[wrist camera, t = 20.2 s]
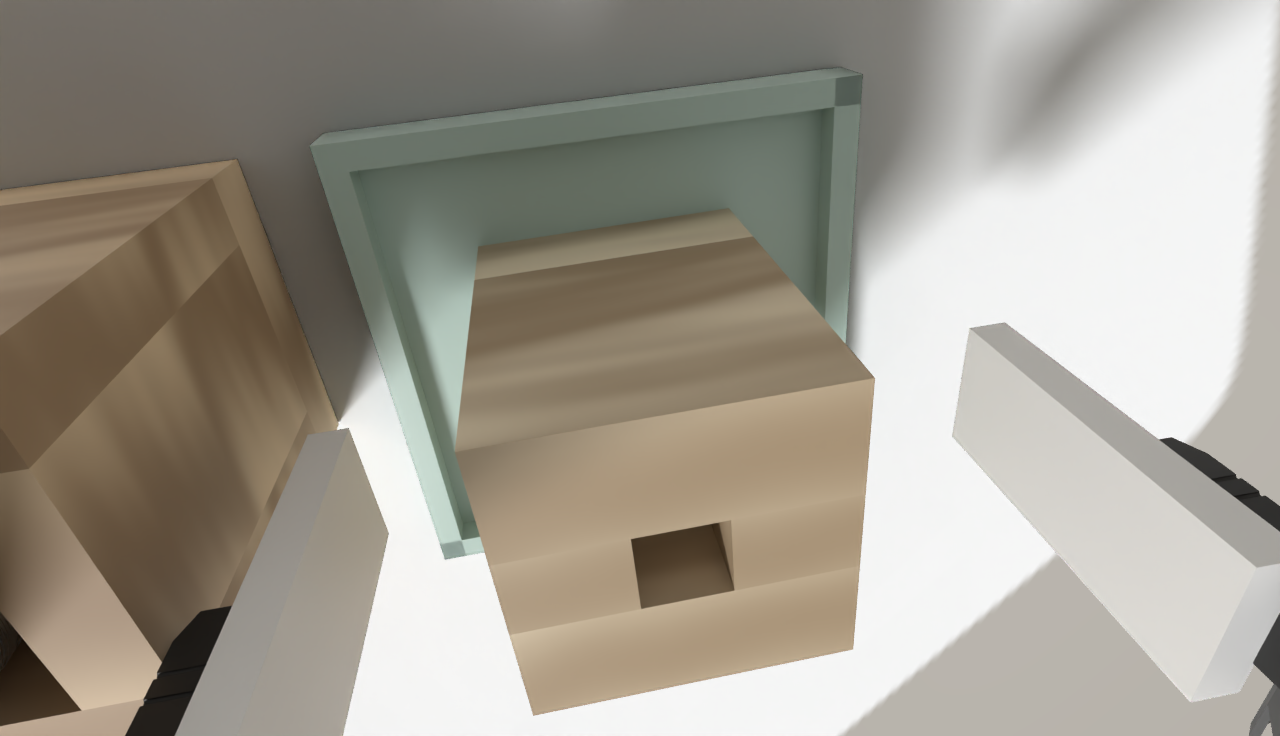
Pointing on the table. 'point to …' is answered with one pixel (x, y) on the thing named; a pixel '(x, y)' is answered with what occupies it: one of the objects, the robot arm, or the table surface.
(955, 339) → the table surface
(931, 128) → the table surface
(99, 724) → the wide-bore block
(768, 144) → the tray
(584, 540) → the narrow-bore block
